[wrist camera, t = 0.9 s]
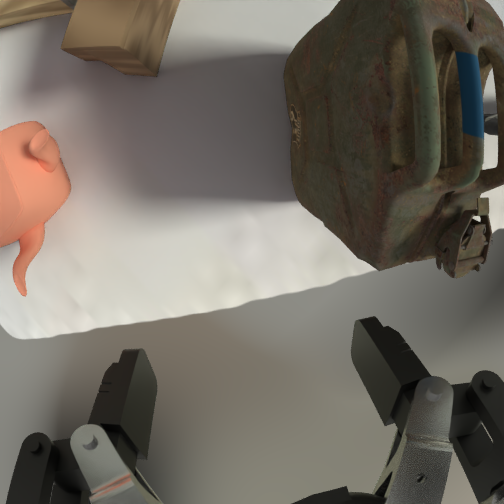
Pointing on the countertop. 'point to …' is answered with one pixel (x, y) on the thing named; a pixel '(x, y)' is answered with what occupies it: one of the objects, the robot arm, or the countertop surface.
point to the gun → (491, 124)
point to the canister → (398, 128)
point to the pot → (29, 190)
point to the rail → (32, 10)
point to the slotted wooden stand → (121, 33)
